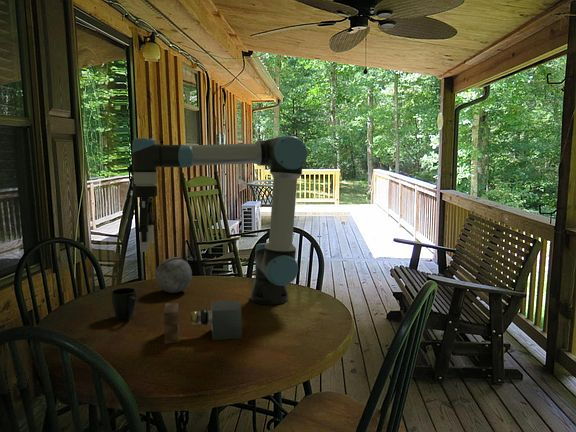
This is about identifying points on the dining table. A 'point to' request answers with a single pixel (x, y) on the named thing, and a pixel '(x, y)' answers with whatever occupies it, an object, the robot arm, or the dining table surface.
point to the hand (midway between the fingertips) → (147, 247)
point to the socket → (171, 323)
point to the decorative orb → (173, 275)
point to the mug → (123, 302)
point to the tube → (201, 317)
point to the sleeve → (226, 320)
